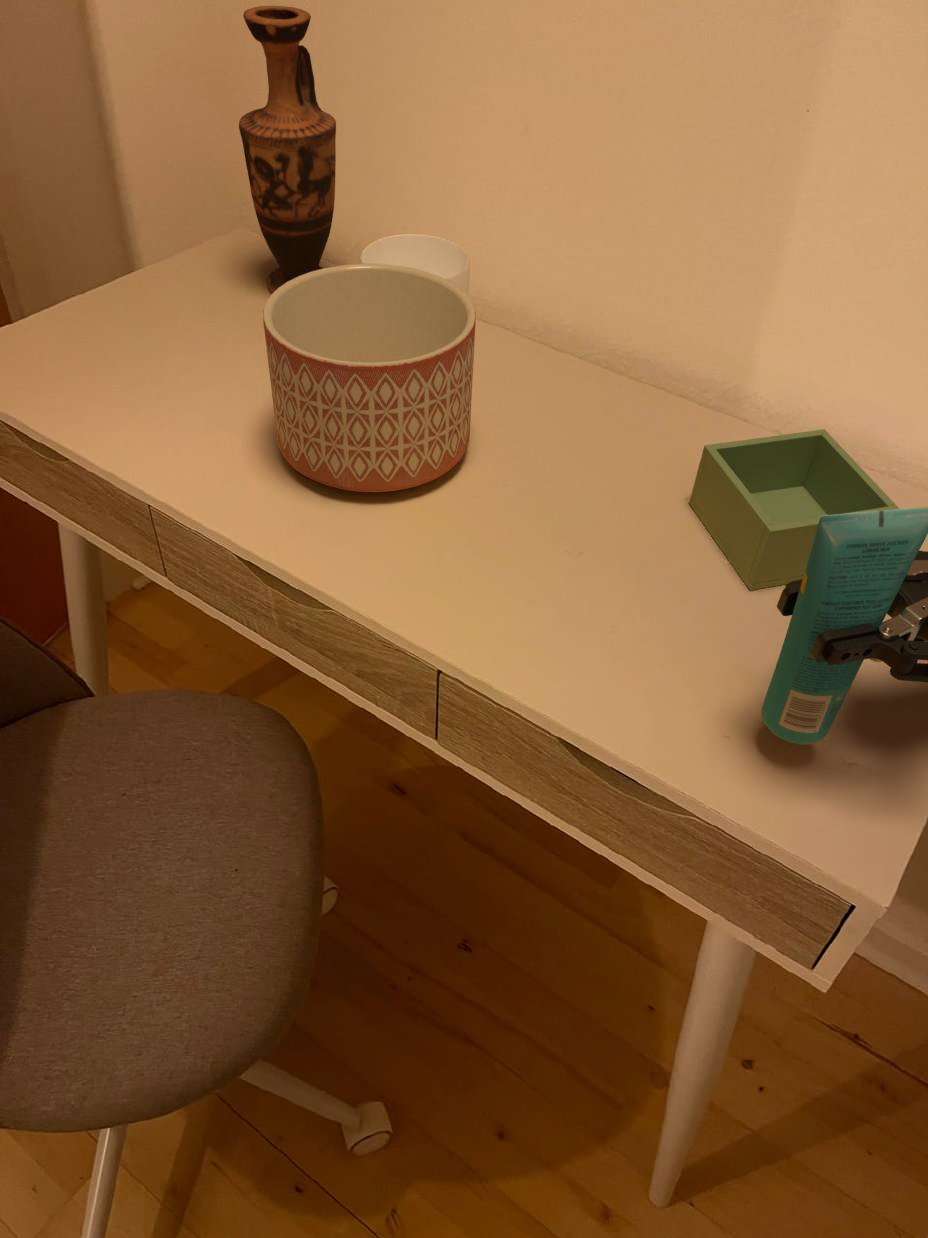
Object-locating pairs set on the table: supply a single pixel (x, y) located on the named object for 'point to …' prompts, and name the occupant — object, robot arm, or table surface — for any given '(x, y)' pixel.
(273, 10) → the vase
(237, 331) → the table surface
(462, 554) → the table surface
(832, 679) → the tube
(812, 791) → the table surface
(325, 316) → the planter
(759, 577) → the basket
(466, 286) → the cup
